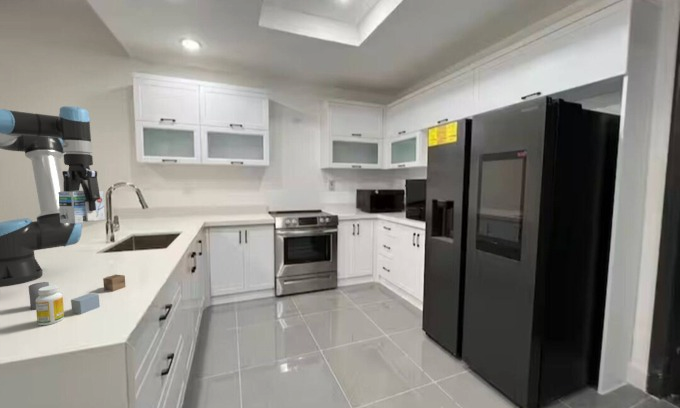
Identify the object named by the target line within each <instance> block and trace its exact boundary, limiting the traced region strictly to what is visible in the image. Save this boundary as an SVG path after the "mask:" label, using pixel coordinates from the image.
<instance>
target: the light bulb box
mask: <svg viewBox="0 0 680 408" xmlns="http://www.w3.org/2000/svg"><path fill="white" fill-rule="evenodd" d="M99 193H100V199H98V200H96V201H95V204H96V220H89V221H86V210H85V200H86V197H85V194H84V191H83V189H82V190H79V191H62V192H58V201H59V212H60V223H81V224H82V223H88V222H95V221H103V220H104V221H105V220H106V216H105V215H106V214H105V203H104V202H105V200H104V191H103V190H99Z"/></svg>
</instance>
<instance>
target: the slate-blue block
mask: <svg viewBox="0 0 680 408" xmlns="http://www.w3.org/2000/svg"><path fill="white" fill-rule="evenodd" d="M70 304H71V305H70V306H71V313H74V314H78V315H83V314H86V313H89V312H91V311H93V310H95V309H98V308H100V306H101V305H100V296H99V294H96V293H90V292H89V293H86V294H83V295H81V296H78V297H75V298H72V299H70Z"/></svg>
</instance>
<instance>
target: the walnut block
mask: <svg viewBox="0 0 680 408" xmlns="http://www.w3.org/2000/svg"><path fill="white" fill-rule="evenodd" d="M102 281H103V290H104V291H106V292H107V291H108V292H117V291H119V290H121V289H123V288H126V276H125V275H123V274H112V275H110V276H106V277H103V278H102Z"/></svg>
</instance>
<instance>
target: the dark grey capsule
mask: <svg viewBox="0 0 680 408" xmlns="http://www.w3.org/2000/svg"><path fill="white" fill-rule="evenodd" d="M46 286H50V283H49V281H43V282H42V281H41V282H37V283H33V284H30V285H29V286H28V295H29V296H28V297H29V304H30V305H29V306H30V310H31V311H32V310H33V311H35V310H36V298H37V297H39V296H40V295H39V294H38V290H39V289H40V288H42V287H46Z"/></svg>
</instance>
